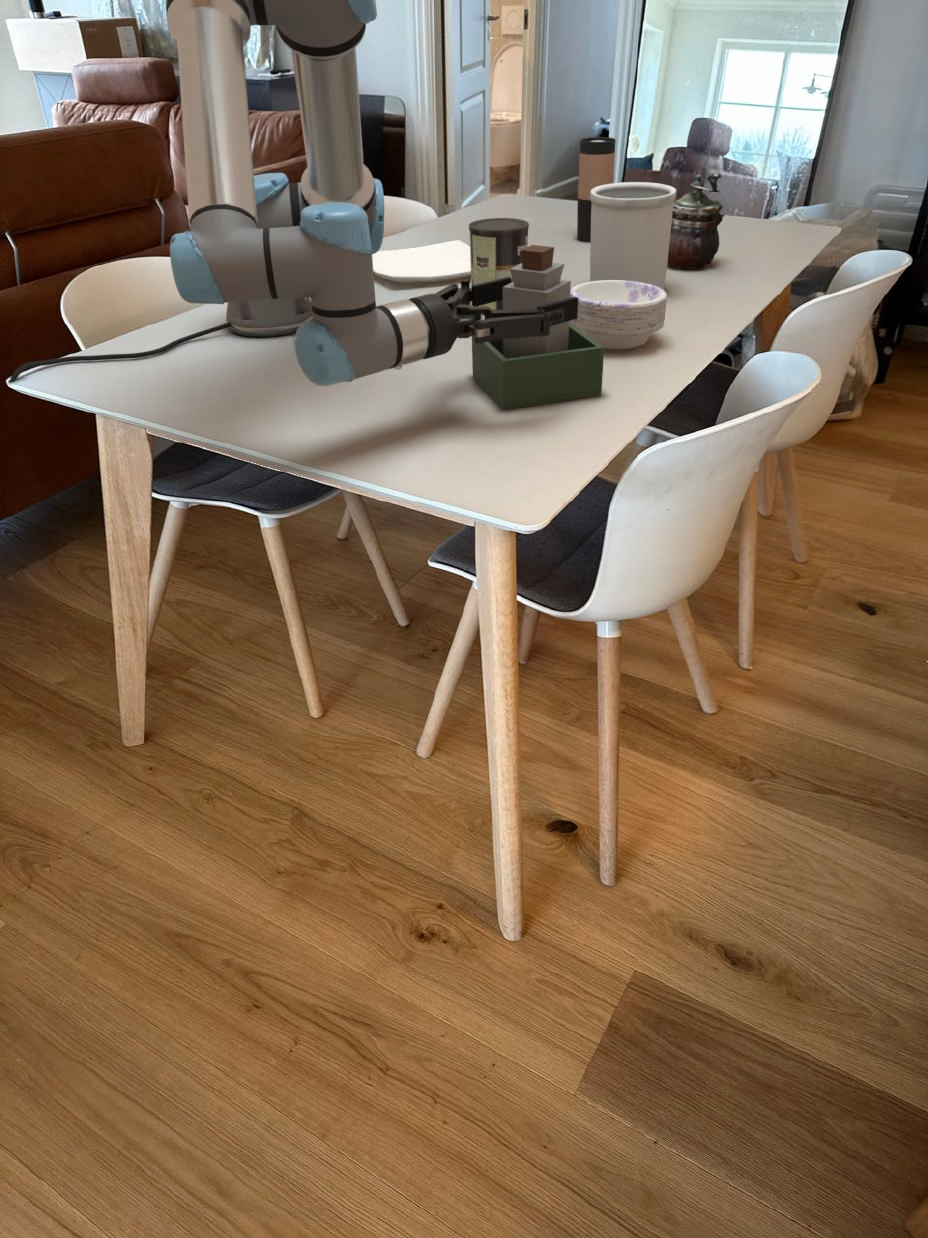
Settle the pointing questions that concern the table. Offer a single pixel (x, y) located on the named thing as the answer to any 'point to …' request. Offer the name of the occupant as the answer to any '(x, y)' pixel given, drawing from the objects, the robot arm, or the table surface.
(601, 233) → the utensil holder
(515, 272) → the perfume bottle
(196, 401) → the table surface
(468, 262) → the plate
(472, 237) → the coffee can
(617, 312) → the paper bowls
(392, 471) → the table surface
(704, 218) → the coffee grinder
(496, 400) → the tote
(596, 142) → the travel mug
